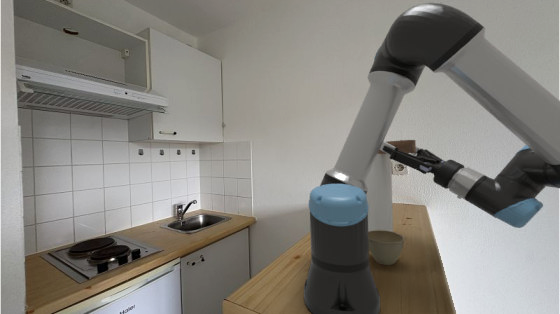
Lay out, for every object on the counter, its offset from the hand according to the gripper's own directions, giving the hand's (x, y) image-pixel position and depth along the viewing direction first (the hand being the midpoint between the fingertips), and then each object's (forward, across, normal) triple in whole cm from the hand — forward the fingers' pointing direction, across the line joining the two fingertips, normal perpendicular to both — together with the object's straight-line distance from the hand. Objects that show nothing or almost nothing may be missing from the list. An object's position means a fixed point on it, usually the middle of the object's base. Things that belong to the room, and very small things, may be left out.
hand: (388, 142), depth 75 cm
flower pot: (-22, -13, -27) cm, 37 cm away
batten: (+2, 0, -6) cm, 6 cm away
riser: (-9, 0, -34) cm, 35 cm away
